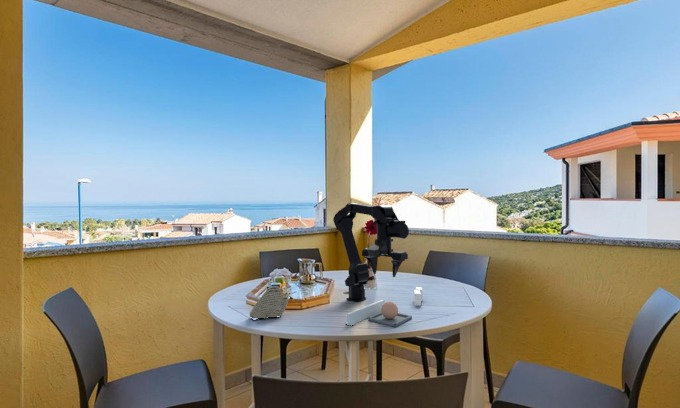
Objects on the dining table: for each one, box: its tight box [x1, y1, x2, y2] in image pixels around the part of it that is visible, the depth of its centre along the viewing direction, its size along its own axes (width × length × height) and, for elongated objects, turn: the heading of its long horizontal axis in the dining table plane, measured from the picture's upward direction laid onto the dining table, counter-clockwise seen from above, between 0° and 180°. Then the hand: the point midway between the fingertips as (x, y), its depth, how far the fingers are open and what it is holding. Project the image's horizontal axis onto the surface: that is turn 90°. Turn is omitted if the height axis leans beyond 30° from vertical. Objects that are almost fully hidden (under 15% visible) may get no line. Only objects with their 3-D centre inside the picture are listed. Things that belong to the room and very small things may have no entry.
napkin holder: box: [413, 286, 423, 307], centre depth 150 cm, size 15×11×6 cm
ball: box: [381, 301, 399, 319], centre depth 127 cm, size 6×6×6 cm
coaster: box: [367, 312, 413, 328], centre depth 127 cm, size 11×11×1 cm
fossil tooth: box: [249, 285, 289, 319], centre depth 133 cm, size 12×6×15 cm
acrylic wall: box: [344, 299, 386, 327], centre depth 130 cm, size 3×22×4 cm, turn 140°
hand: (384, 275), depth 142 cm, fingers open, 9 cm apart
